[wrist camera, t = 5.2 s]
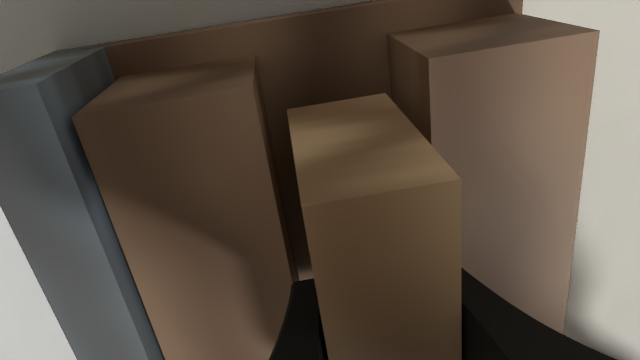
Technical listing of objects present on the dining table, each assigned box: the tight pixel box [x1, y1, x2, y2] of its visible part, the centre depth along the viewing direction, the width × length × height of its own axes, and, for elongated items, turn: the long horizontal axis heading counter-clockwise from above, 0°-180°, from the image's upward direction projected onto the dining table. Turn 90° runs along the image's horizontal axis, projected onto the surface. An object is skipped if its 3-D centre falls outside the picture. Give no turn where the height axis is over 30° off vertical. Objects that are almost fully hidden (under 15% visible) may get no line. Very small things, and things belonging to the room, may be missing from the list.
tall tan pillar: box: [287, 93, 462, 360], centre depth 14 cm, size 3×10×6 cm, turn 8°
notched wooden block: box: [0, 0, 600, 360], centre depth 17 cm, size 16×14×6 cm
